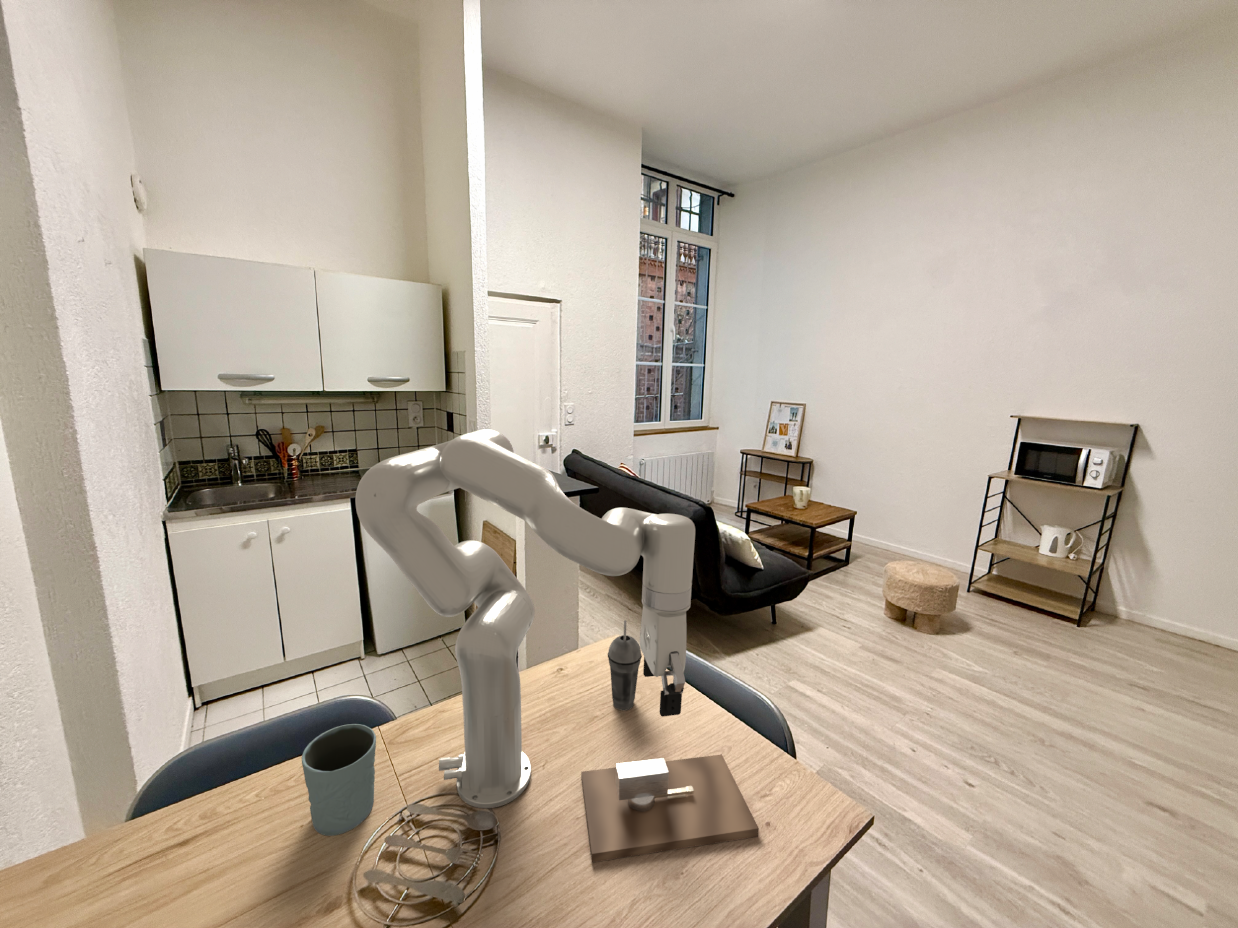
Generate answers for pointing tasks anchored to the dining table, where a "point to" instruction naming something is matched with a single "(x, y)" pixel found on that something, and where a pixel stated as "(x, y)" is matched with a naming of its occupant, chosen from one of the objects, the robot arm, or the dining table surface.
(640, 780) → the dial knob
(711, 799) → the board
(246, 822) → the dining table surface
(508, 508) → the robot arm
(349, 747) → the blue-grey open cylinder
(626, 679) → the beverage cup
